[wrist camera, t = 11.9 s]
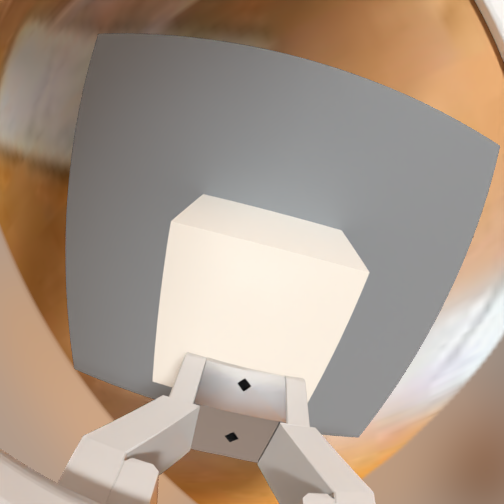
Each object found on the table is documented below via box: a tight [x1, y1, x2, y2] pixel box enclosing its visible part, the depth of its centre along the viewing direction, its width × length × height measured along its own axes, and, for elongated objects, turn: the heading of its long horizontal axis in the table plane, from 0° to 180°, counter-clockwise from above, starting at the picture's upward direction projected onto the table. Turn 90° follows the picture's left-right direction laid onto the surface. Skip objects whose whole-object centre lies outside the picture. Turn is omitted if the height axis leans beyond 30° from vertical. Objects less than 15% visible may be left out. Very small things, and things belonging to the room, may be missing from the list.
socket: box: [66, 33, 500, 437], centre depth 15 cm, size 18×18×4 cm
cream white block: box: [152, 194, 370, 403], centre depth 13 cm, size 6×6×8 cm
